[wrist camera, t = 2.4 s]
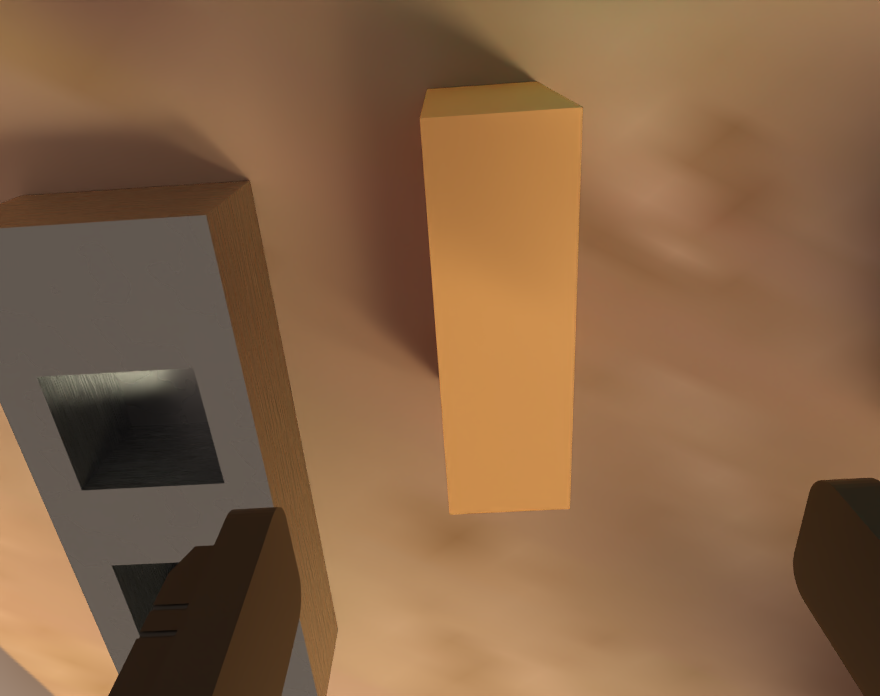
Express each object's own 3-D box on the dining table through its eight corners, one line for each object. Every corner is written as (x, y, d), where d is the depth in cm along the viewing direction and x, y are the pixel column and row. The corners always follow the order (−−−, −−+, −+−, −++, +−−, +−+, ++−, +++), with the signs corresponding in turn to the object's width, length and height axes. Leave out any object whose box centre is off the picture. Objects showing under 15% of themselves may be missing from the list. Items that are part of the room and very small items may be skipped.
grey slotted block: (249, 180, 22) (206, 214, 18) (337, 629, 32) (322, 717, 28) (20, 195, 22) (-74, 232, 18) (178, 636, 32) (140, 724, 28)
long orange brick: (536, 81, 20) (582, 107, 14) (536, 381, 25) (569, 508, 19) (427, 89, 20) (420, 118, 14) (447, 386, 25) (449, 514, 19)
